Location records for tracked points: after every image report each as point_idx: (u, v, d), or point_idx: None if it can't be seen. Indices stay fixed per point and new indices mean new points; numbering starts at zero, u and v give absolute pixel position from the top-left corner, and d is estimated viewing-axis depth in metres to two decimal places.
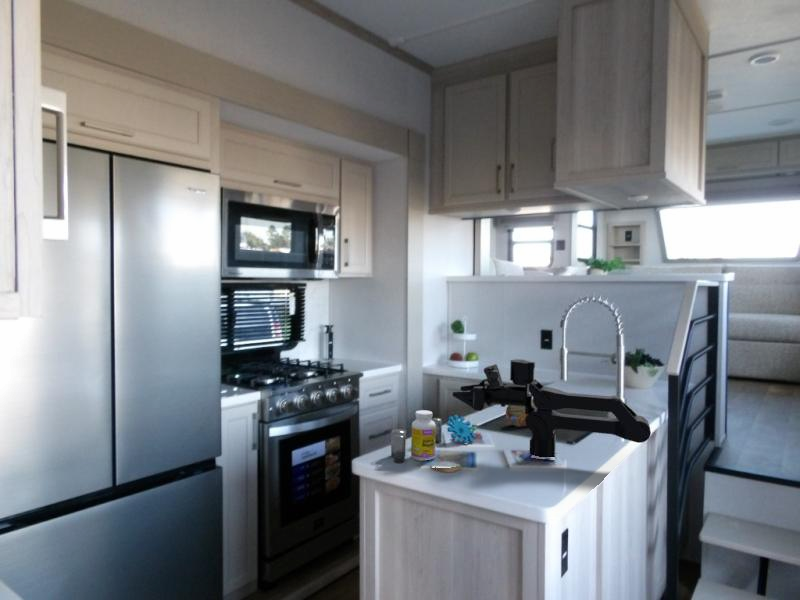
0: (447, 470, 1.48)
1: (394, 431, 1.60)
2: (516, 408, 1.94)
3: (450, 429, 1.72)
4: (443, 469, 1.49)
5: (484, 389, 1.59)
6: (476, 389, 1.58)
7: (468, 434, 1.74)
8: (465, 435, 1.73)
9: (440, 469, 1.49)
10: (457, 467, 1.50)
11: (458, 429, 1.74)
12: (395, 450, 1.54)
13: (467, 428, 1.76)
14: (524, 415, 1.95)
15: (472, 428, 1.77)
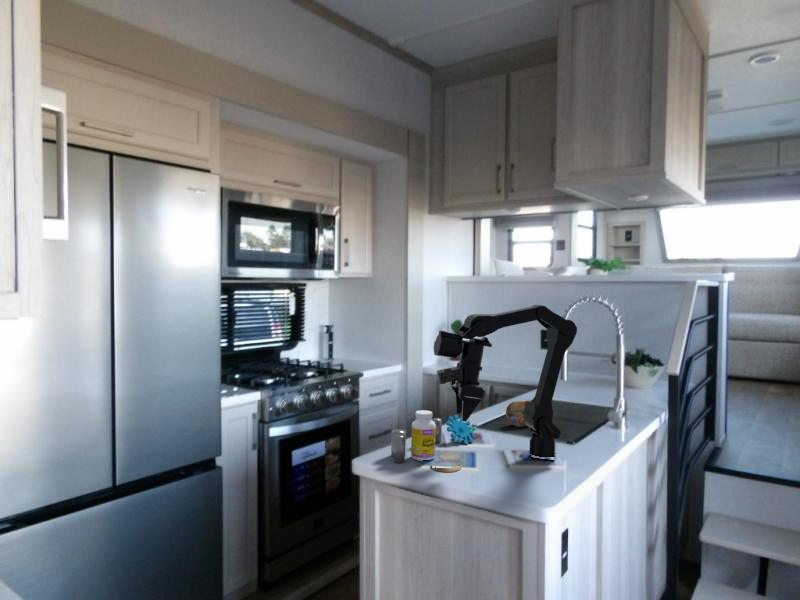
0: (447, 470, 1.48)
1: (394, 431, 1.60)
2: (516, 408, 1.94)
3: (450, 429, 1.72)
4: (443, 469, 1.49)
5: (462, 385, 1.48)
6: (461, 393, 1.46)
7: (468, 434, 1.74)
8: (465, 435, 1.73)
9: (440, 469, 1.49)
10: (457, 467, 1.50)
11: (458, 429, 1.74)
12: (395, 450, 1.54)
13: (467, 428, 1.76)
14: None
15: (472, 428, 1.77)
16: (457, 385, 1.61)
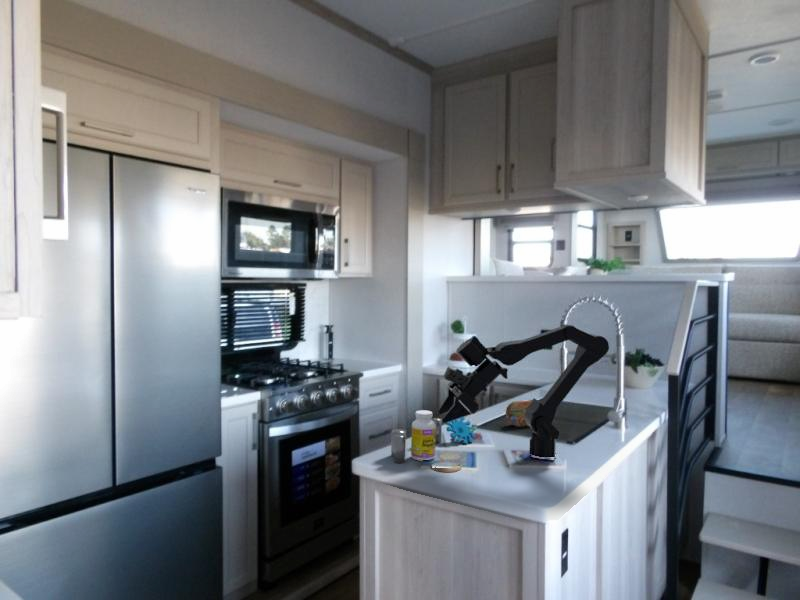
0: (447, 470, 1.48)
1: (394, 431, 1.60)
2: (516, 408, 1.94)
3: (449, 429, 1.73)
4: (443, 469, 1.49)
5: (464, 391, 1.52)
6: (460, 397, 1.49)
7: (468, 433, 1.75)
8: (464, 435, 1.74)
9: (440, 469, 1.49)
10: (457, 467, 1.50)
11: (457, 429, 1.74)
12: (395, 450, 1.54)
13: (467, 428, 1.76)
14: None
15: (472, 428, 1.77)
16: (454, 390, 1.64)
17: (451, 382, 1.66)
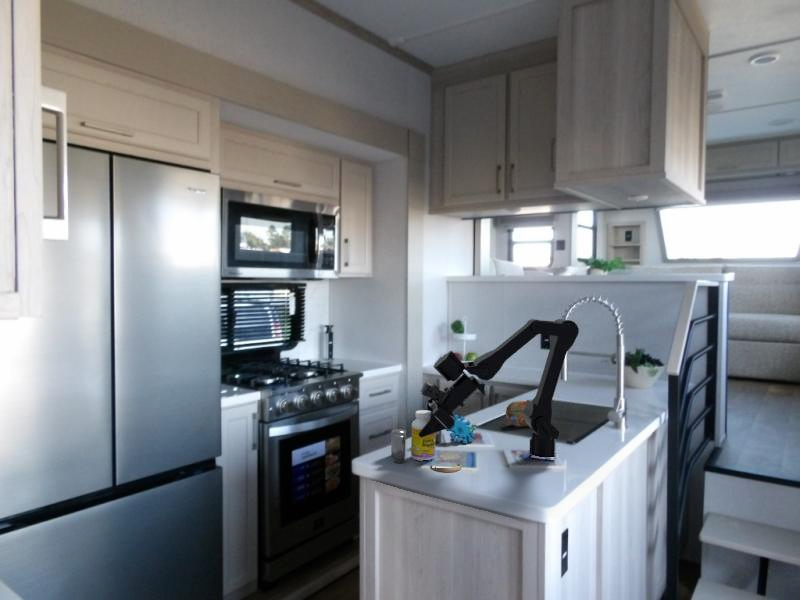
0: (447, 470, 1.48)
1: (394, 431, 1.60)
2: (516, 408, 1.94)
3: None
4: (443, 469, 1.49)
5: (440, 407, 1.51)
6: (435, 413, 1.49)
7: (467, 433, 1.75)
8: (464, 435, 1.74)
9: (440, 469, 1.49)
10: (457, 467, 1.50)
11: (457, 429, 1.74)
12: (395, 450, 1.54)
13: (466, 428, 1.76)
14: None
15: (472, 428, 1.77)
16: (432, 406, 1.63)
17: (429, 397, 1.66)
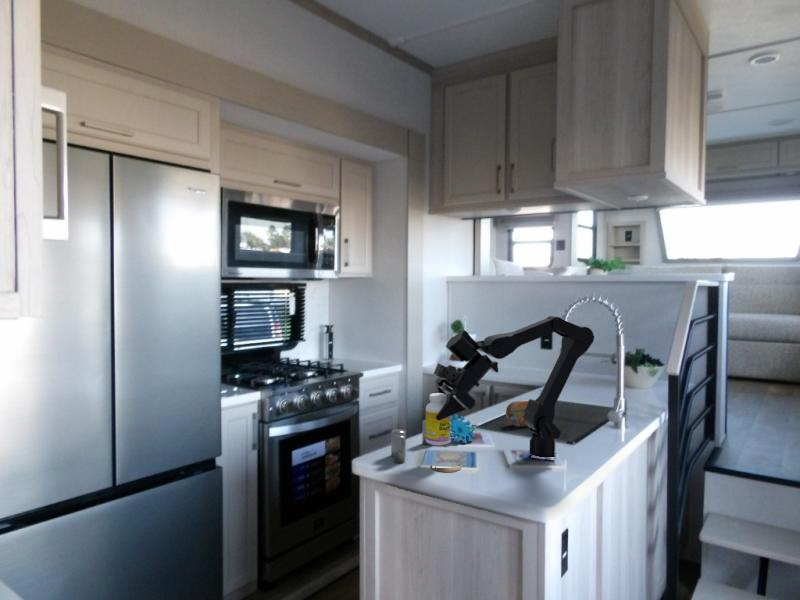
0: (447, 470, 1.48)
1: (394, 431, 1.60)
2: (516, 408, 1.94)
3: None
4: (443, 469, 1.49)
5: (459, 387, 1.47)
6: (457, 394, 1.45)
7: (467, 433, 1.75)
8: (464, 435, 1.74)
9: (440, 469, 1.49)
10: (457, 467, 1.50)
11: (457, 428, 1.74)
12: (395, 450, 1.54)
13: (466, 428, 1.76)
14: None
15: (472, 428, 1.77)
16: (443, 388, 1.58)
17: (438, 379, 1.61)
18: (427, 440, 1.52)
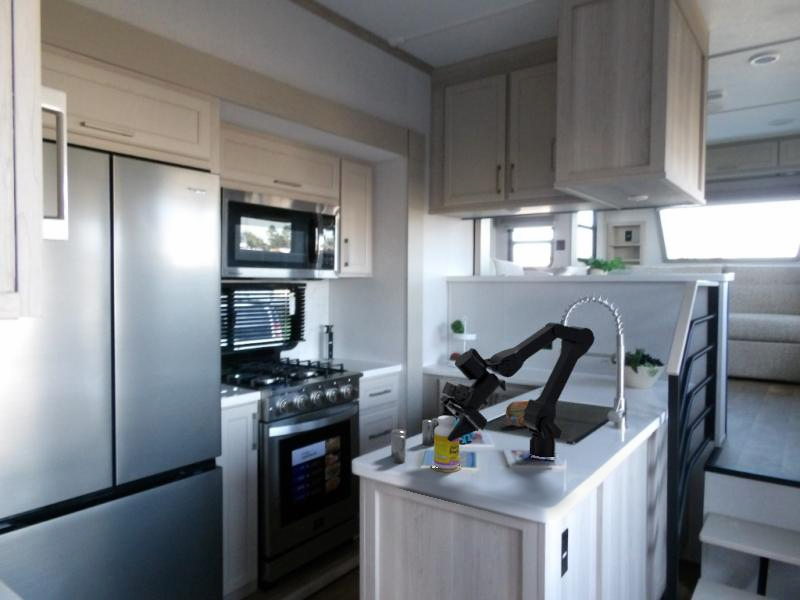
0: (447, 470, 1.48)
1: (394, 431, 1.60)
2: (516, 408, 1.94)
3: None
4: (443, 469, 1.49)
5: (471, 407, 1.45)
6: (470, 414, 1.43)
7: None
8: None
9: (440, 469, 1.49)
10: (457, 467, 1.50)
11: None
12: (395, 450, 1.54)
13: None
14: None
15: None
16: (449, 406, 1.57)
17: (443, 397, 1.59)
18: (436, 464, 1.49)
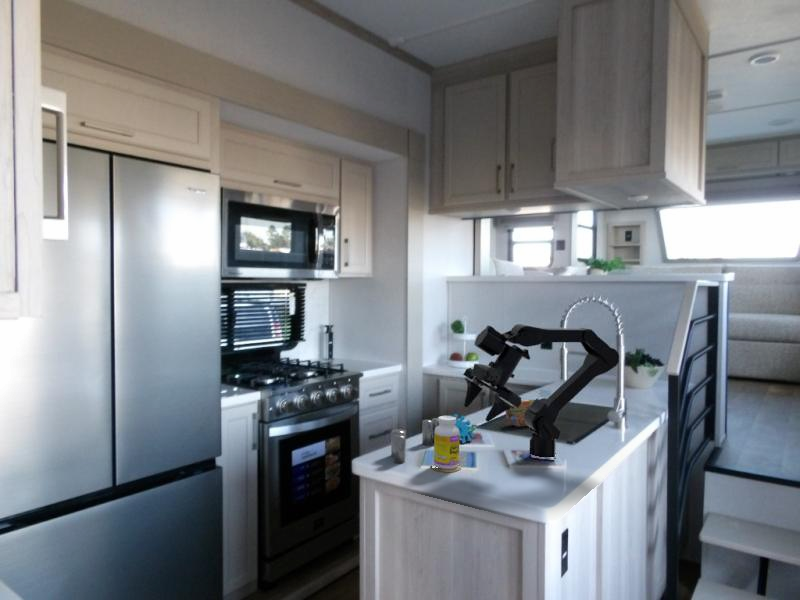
0: (447, 470, 1.48)
1: (394, 431, 1.60)
2: (516, 408, 1.94)
3: None
4: (443, 469, 1.49)
5: (505, 389, 1.50)
6: (507, 398, 1.48)
7: (466, 433, 1.75)
8: (463, 434, 1.74)
9: (440, 469, 1.49)
10: (457, 467, 1.50)
11: None
12: (395, 450, 1.54)
13: (466, 427, 1.77)
14: None
15: (471, 428, 1.77)
16: (474, 380, 1.61)
17: (467, 372, 1.62)
18: (436, 464, 1.49)
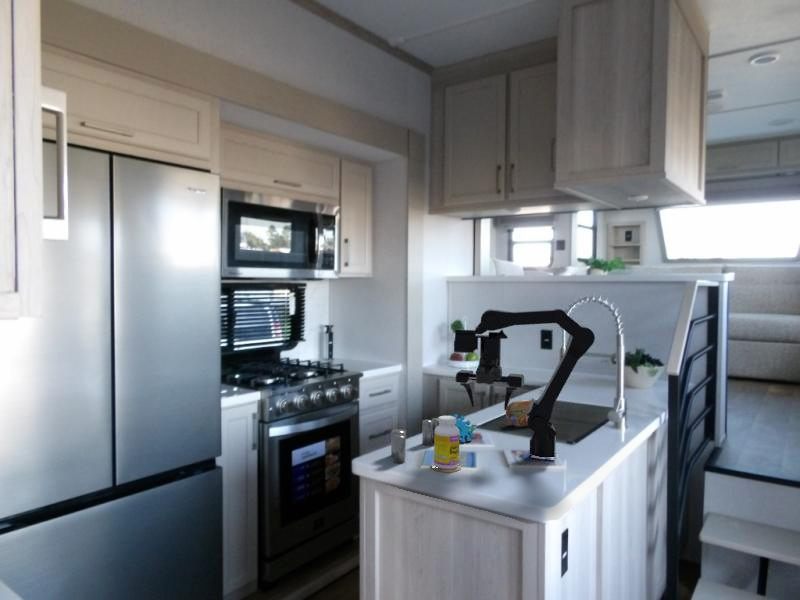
0: (447, 470, 1.48)
1: (394, 431, 1.60)
2: (516, 408, 1.94)
3: None
4: (443, 469, 1.49)
5: (512, 377, 1.58)
6: (520, 384, 1.57)
7: (466, 433, 1.75)
8: (462, 434, 1.74)
9: (440, 469, 1.49)
10: (457, 467, 1.50)
11: None
12: (395, 450, 1.54)
13: (466, 427, 1.77)
14: (524, 415, 1.95)
15: (471, 427, 1.77)
16: (469, 381, 1.63)
17: (460, 378, 1.62)
18: (436, 464, 1.49)
